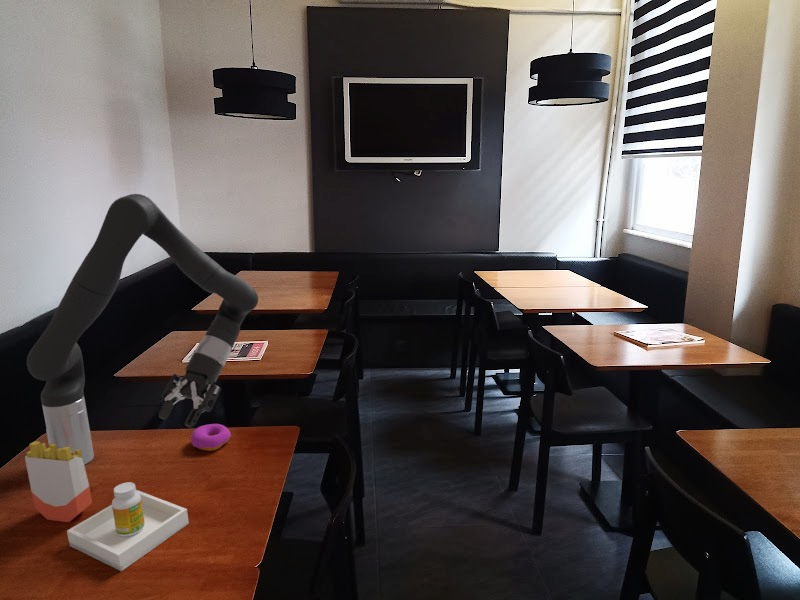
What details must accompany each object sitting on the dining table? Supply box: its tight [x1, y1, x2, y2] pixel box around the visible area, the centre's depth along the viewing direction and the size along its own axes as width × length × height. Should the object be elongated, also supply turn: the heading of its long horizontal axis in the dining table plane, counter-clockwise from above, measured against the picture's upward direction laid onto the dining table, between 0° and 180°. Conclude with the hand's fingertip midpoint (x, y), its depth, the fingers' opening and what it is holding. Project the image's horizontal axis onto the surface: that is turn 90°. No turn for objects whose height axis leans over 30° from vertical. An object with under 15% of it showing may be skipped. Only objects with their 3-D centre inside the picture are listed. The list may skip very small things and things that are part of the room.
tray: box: [66, 489, 189, 572], centre depth 115 cm, size 16×16×4 cm
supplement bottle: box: [111, 481, 145, 537], centre depth 114 cm, size 5×5×10 cm
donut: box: [190, 423, 232, 452], centre depth 152 cm, size 10×10×5 cm
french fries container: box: [24, 440, 93, 523], centre depth 120 cm, size 5×11×18 cm, turn 78°
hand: (174, 422), depth 125 cm, fingers open, 8 cm apart
